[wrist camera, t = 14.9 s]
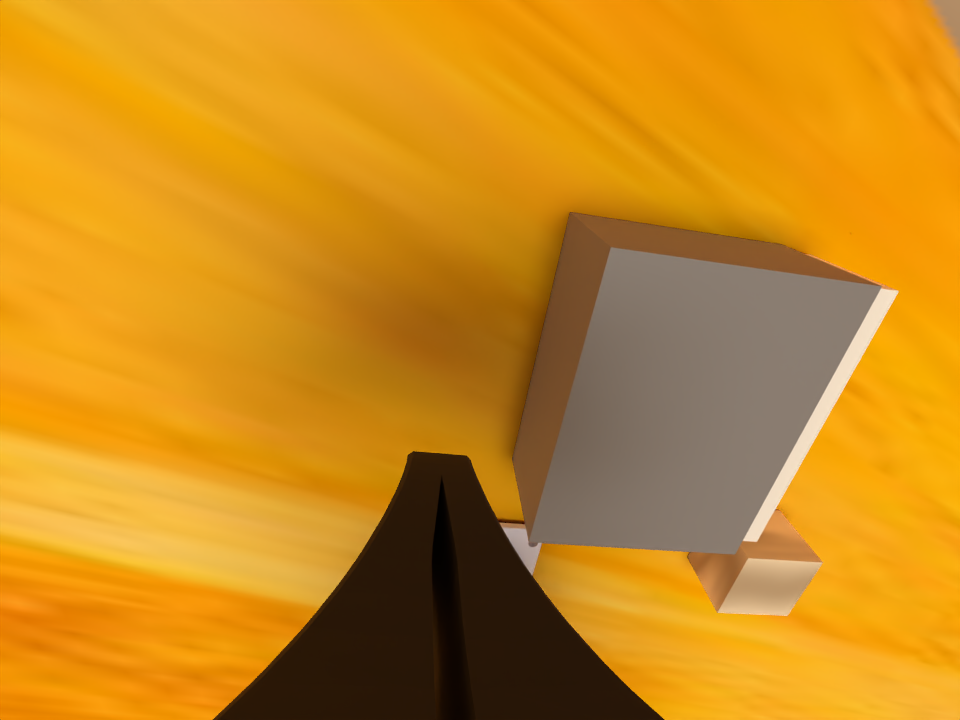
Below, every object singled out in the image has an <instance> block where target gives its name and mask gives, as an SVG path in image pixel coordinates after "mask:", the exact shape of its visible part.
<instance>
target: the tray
mask: <svg viewBox="0 0 960 720" xmlns="http://www.w3.org/2000/svg"><path fill="white" fill-rule="evenodd" d="M806 255H808V256H811V257H813V258H815V259H818V260H820V261H823V262H825V263H827V264H830V265H832V266H835V267H837V268H839V269H842V270H844V271H846V272H849V273H851V274H854V275H856V276H858V277H861V278H863V279H866V280H868V281H870V282H873V283H875V284H878V285H880V286H882V288H881V289H880V291H879V293H878V295H877V297H876V299H875V300H874V302H873V304H872V306H871V308H870V309H869V311H868V313H867V315H866V317H865V319H864V320H863V322H862V324H861V326H860V328H859V330H858V331H857V333H856V335H855V337H854V339H853V341H852V342H851V344H850V346H849V348H848V350H847V351H846V353H845V355H844V357H843V359H842V361H841V362H840V364H839V366H838V368H837V370H836V372H835V373H834V375H833V377H832V379H831V381H830V382H829V384H828V386H827V388H826V390H825V392H824V393H823V395H822V397H821V399H820V401H819V403H818V404H817V406H816V408H815V410H814V412H813V413H812V415H811V417H810V419H809V421H808V423H807V424H806V426H805V428H804V430H803V432H802V434H801V435H800V437H799V439H798V441H797V443H796V445H795V446H794V448H793V450H792V452H791V454H790V455H789V457H788V459H787V461H786V463H785V465H784V466H783V468H782V470H781V472H780V474H779V476H778V477H777V479H776V481H775V483H774V485H773V486H772V488H771V490H770V492H769V494H768V496H767V497H766V499H765V501H764V503H763V505H762V507H761V508H760V510H759V512H758V514H757V516H756V517H755V519H754V521H753V523H752V525H751V527H750V528H749V530H748V532H747V534H746V536H745V538H744V539H743V541H751V542H757V541H758V539H759V537H760V535H761V534H762V532H763V530H764V528H765V526H766V525H767V523H768V521H769V519H770V518H771V516H772V514H773V512H774V511H775V509H776V507H777V505H778V504H779V502H780V500H781V498H782V496H783V495H784V493H785V491H786V489H787V488H788V486H789V484H790V482H791V481H792V479H793V477H794V475H795V474H796V472H797V470H798V468H799V466H800V465H801V463H802V461H803V459H804V458H805V456H806V454H807V452H808V451H809V449H810V447H811V445H812V444H813V442H814V440H815V438H816V436H817V435H818V433H819V431H820V429H821V428H822V426H823V424H824V422H825V421H826V419H827V417H828V415H829V414H830V412H831V410H832V408H833V406H834V405H835V403H836V401H837V399H838V398H839V396H840V394H841V392H842V391H843V389H844V387H845V385H846V383H847V382H848V380H849V378H850V376H851V375H852V373H853V371H854V369H855V368H856V366H857V364H858V362H859V361H860V359H861V357H862V355H863V353H864V352H865V350H866V348H867V346H868V345H869V343H870V341H871V339H872V338H873V336H874V334H875V332H876V331H877V329H878V327H879V325H880V323H881V322H882V320H883V318H884V316H885V315H886V313H887V311H888V309H889V308H890V306H891V304H892V302H893V301H894V299H895V297H896V295H897V293H898V292H899V291H897V290H895V289H893V288H890V287H888V286H885V285H883V284H880V283H878V282H876V281H873V280H871V279H868V278H866V277H863V276H861V275H859V274H856V273H854V272H851V271H849V270H847V269H844V268H842V267H839V266H837V265H834V264H832V263H830V262H827V261H825V260H822V259H820V258H818V257H815V256H813V255H809V254H806Z"/></svg>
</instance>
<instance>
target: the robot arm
mask: <svg viewBox="0 0 960 720" xmlns="http://www.w3.org/2000/svg"><path fill="white" fill-rule="evenodd" d="M541 545H542V543H534V542H529V541H528V536H527V531H526V526H525V524H513V523H499V521H498V519H497V517H496V516H495V514H494V512H493V510H492V508H491V506H490V504H489V502H488V500H487V498H486V496H485V494H484V492H483V490H482V488H481V485H480V483H479V481H478V478H477V476H476V474H475V471H474V468H473V466H472V463H471V460H470V459H469V458H468V457H467V456H464V455H452V454H440V453H427V452H415V451H413V452H412V453H410V454H409V455H408V457H407V463H406V466H405V470H404V473H403V475H402V478H401V480H400V483H399V485H398V487H397V490H396V492H395V494H394V496H393V498H392V500H391V502H390V504H389V506H388V508H387V510H386V512H385V514H384V515H383V517H382V519H381V521H380V523H379V524H378V526H377V527H376V529H375V531H374V532H373V534H372V536H371V537H370V539H369V541H368V542H367V544H366V546H365V547H364V549H363V550H362V552H361V553H360V555H359V556H358V558H357V559H356V561H355V562H354V564H353V565H352V566H351V568H350V569H349V571H348V572H347V573H346V575H345V576H344V578H343V579H342V580H341V582H340V583H339V584H338V586H337V587H336V588H335V590H334V591H333V592H332V593H331V595H330V596H329V597H328V598H327V600H326V601H325V602H324V603H323V605H322V606H321V607H320V608H319V610H318V611H317V612H316V613H315V615H314V616H313V617H312V618H311V619H310V620H309V622H308V623H307V624H306V625H305V626H304V627H303V629H302V630H301V631H300V632H299V633H298V634H297V635H296V636H295V637H294V638H293V640H292V641H291V642H290V643H289V644H288V645H287V646H286V647H285V648H284V649H283V650H282V651H281V652H280V654H279V655H278V656H277V657H276V658H275V659H274V660H273V661H272V662H271V663H270V664H269V665H268V667H267V668H266V669H265V670H264V671H263V672H262V673H261V674H260V675H259V676H258V677H257V678H256V679H255V680H254V681H253V682H252V683H251V684H250V685H249V686H248V687H247V688H246V689H244V690H243V691H242V692H241V693H240V694H239V695H238V696H237V697H236V698H235V699H234V700H233V701H232V702H231V703H230V704H229V705H228V706H227V707H226V708H225V709H223V710H222V711H221V712H220V713H219V714H218V715H217V716H216V717H215V718H214V719H213V720H664V719H663V718H662V717H661V716H660V715H659V714H658V713H656V712H655V711H654V710H653V709H652V708H651V707H650V706H649V705H647V704H646V703H645V702H644V701H643V700H642V699H641V698H640V697H639V696H637V695H636V694H635V693H634V692H633V691H632V690H631V689H630V688H629V687H628V686H627V685H626V684H625V683H624V682H623V681H622V680H621V679H620V678H619V677H618V676H617V675H616V674H615V673H614V672H613V671H612V670H611V669H610V668H609V667H608V666H607V665H606V664H605V663H604V662H603V661H602V660H601V659H600V658H599V657H598V655H597V654H596V653H595V652H594V651H593V650H592V649H591V648H590V647H589V645H588V644H587V643H586V642H585V641H584V640H583V639H582V638H581V636H580V635H579V634H578V633H577V632H576V631H575V630H574V629H573V628H572V626H571V625H570V624H569V623H568V622H567V621H566V619H565V618H564V617H563V616H562V615H561V613H560V612H559V611H558V609H557V608H556V607H555V606H554V604H553V603H552V602H551V601H550V599H549V598H548V597H547V595H546V594H545V593H544V591H543V590H542V589H541V587H540V586H539V585H538V583H537V582H536V581H535V579H534V578H533V576H532V575H533V572H534V569H535V565H536V562H537V558H538V555H539V552H540V548H541Z"/></svg>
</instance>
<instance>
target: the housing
mask: <svg viewBox="0 0 960 720" xmlns="http://www.w3.org/2000/svg"><path fill="white" fill-rule="evenodd" d="M881 288H882V286H880V285H878V284H875V283H873V282H870V281H868V280H866V279H863V278H861V277H858V276H856V275H854V274H851V273H849V272H846V271H844V270H842V269H839V268H837V267H835V266H832V265H830V264H827V263H825V262H823V261H820V260H818V259H815V258H813V257H811V256H808V255H806V254H803V253H801V252H799V251H796V250H794V249H791V248H789V247H787V246H784V245H782V244H776V243H769V242H762V241H756V240H749V239H743V238H736V237H730V236H723V235H717V234H710V233H703V232H697V231H690V230H684V229H677V228H671V227H664V226H658V225H651V224H644V223H638V222H631V221H625V220H618V219H612V218H605V217H599V216H592V215H586V214H579V213H572V212H570V214H569V219H568V223H567V227H566V232H565V236H564V240H563V244H562V249H561V253H560V257H559V261H558V266H557V270H556V274H555V279H554V283H553V287H552V291H551V296H550V300H549V304H548V308H547V313H546V317H545V321H544V326H543V330H542V334H541V338H540V343H539V347H538V351H537V356H536V360H535V364H534V368H533V373H532V377H531V381H530V385H529V390H528V394H527V398H526V403H525V407H524V411H523V415H522V420H521V424H520V428H519V433H518V437H517V441H516V445H515V450H514V454H513V458H512V460H513V465H514V470H515V475H516V481H517V486H518V491H519V496H520V501H521V506H522V511H523V516H524V521H525V526H526V531H527V536H528V541H529V542H534V543H550V544H567V545H584V546H600V547H617V548H634V549H650V550H667V551H683V552H700V553H717V554H733V555H735V554H736V552H737V550H738V549H739V547H740V545H741V543H742V541H743V539H744V538H745V536H746V534H747V532H748V530H749V528H750V527H751V525H752V523H753V521H754V519H755V517H756V516H757V514H758V512H759V510H760V508H761V507H762V505H763V503H764V501H765V499H766V497H767V496H768V494H769V492H770V490H771V488H772V486H773V485H774V483H775V481H776V479H777V477H778V476H779V474H780V472H781V470H782V468H783V466H784V465H785V463H786V461H787V459H788V457H789V455H790V454H791V452H792V450H793V448H794V446H795V445H796V443H797V441H798V439H799V437H800V435H801V434H802V432H803V430H804V428H805V426H806V424H807V423H808V421H809V419H810V417H811V415H812V413H813V412H814V410H815V408H816V406H817V404H818V403H819V401H820V399H821V397H822V395H823V393H824V392H825V390H826V388H827V386H828V384H829V382H830V381H831V379H832V377H833V375H834V373H835V372H836V370H837V368H838V366H839V364H840V362H841V361H842V359H843V357H844V355H845V353H846V351H847V350H848V348H849V346H850V344H851V342H852V341H853V339H854V337H855V335H856V333H857V331H858V330H859V328H860V326H861V324H862V322H863V320H864V319H865V317H866V315H867V313H868V311H869V309H870V308H871V306H872V304H873V302H874V300H875V299H876V297H877V295H878V293H879V291H880V289H881Z"/></svg>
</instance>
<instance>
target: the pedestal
mask: <svg viewBox="0 0 960 720" xmlns="http://www.w3.org/2000/svg"><path fill="white" fill-rule="evenodd" d="M688 559H689V561H690V563H691V565H692V567H693V569H694V570H695V572H696V574H697V576H698V578H699V580H700V582H701V583H702V585H703V587H704V589H705V591H706V593H707V594H708V596H709V598H710V600H711V602H712V604H713V606H714V607H715V609H716V611H717V613H736V614H759V615H783V616H788V614H789V613H790V611H791V610H792V608H793V607H794V605H795V604H796V602H797V601H798V599H799V598H800V596H801V595H802V593H803V592H804V590H805V589H806V587H807V586H808V584H809V583H810V581H811V580H812V578H813V577H814V575H815V574H816V572H817V571H818V569H819V568H820V566H821V565H822V563H823V562H822V561H821V560H820V559H819V557H818V556H817V555H816V554H815V553H814V551H813V550H812V549H811V548H810V546H809V545H808V544H807V543H806V542H805V540H804V539H803V538H802V537H801V536H800V534H799V533H798V532H797V531H796V530H795V528H794V527H793V526H792V525H791V524H790V522H789V521H788V520H787V519H786V517H785V516H784V515H783V514H782V513H781V511H780V510H775V511H774V512H773V514H772V516H771V518H770V519H769V521H768V523H767V525H766V526H765V528H764V530H763V532H762V534H761V535H760V537H759V539H758V541H757V542H751V541H742V543H741V545H740V547H739V549H738V550H737V552H736V554H735V555H733V554H717V553H700V552H690V553H689V555H688Z"/></svg>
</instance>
